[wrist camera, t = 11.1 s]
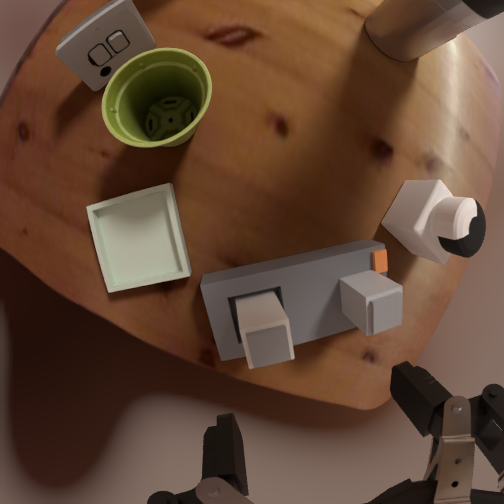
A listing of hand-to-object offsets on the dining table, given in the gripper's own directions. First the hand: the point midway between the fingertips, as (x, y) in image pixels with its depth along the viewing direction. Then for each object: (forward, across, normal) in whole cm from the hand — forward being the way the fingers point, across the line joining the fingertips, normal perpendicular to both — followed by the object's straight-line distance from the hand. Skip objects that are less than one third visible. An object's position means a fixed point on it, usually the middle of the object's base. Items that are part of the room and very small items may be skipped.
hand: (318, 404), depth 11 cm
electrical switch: (+21, +12, -31) cm, 39 cm away
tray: (+20, +12, -8) cm, 25 cm away
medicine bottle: (+21, -21, -3) cm, 30 cm away
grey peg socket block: (+20, -4, +3) cm, 21 cm away
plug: (+19, +2, +2) cm, 20 cm away
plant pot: (+21, +6, -20) cm, 29 cm away
